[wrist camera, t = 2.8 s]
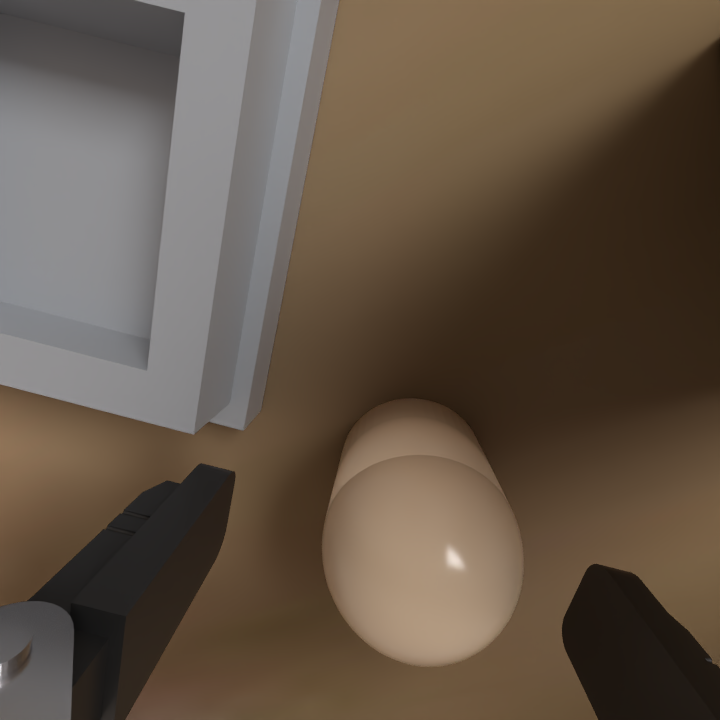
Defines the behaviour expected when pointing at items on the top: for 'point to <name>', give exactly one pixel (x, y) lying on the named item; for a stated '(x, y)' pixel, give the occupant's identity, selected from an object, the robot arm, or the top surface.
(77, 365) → the egg carton
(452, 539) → the brown egg
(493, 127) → the top surface
